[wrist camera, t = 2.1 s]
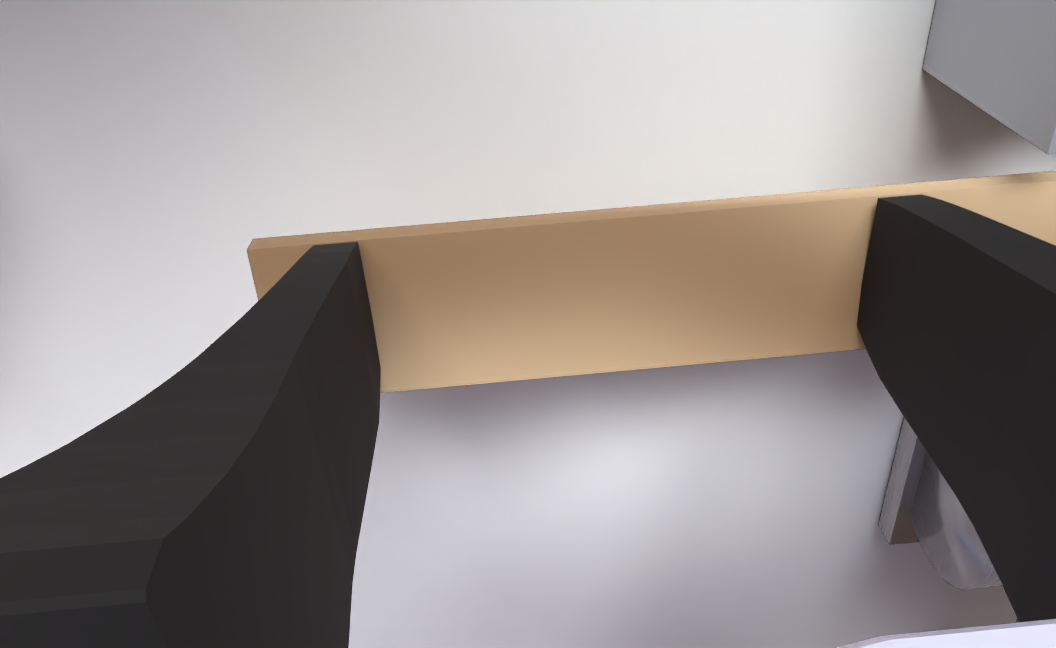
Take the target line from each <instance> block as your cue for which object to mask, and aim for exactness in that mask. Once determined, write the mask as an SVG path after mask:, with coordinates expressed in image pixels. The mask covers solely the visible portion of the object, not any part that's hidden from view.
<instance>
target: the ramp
mask: <svg viewBox="0 0 1056 648" xmlns="http://www.w3.org/2000/svg"><path fill="white" fill-rule="evenodd" d="M920 194H922V195H926V196H930V197H934V198H937V199H940V200H943V201H946V202H949V203H952V204H955V205H957V206H960V207H963V208H965V209H968V210H970V211H973V212H975V213H978V214H980V215H983V216H985V217H988V218H990V219H993V220H995V221H997V222H1000V223H1002V224H1005V225H1007V226H1010V227H1012V228H1014V229H1017V230H1019V231H1022V232H1024V233H1026V234H1029V235H1031V236H1034V237H1036V238H1039V239H1041V240H1043V241H1046V242H1048V243H1051V244H1053V245H1056V171H1049V172H1037V173H1025V174H1013V175H1001V176H990V177H978V178H966V179H954V180H943V181H931V182H919V183H907V184H895V185H884V186H872V187H860V188H848V189H836V190H825V191H813V192H801V193H789V194H777V195H766V196H754V197H742V198H730V199H718V200H707V201H695V202H683V203H671V204H659V205H648V206H636V207H624V208H612V209H601V210H589V211H577V212H565V213H553V214H542V215H530V216H518V217H506V218H494V219H483V220H471V221H459V222H447V223H435V224H424V225H412V226H400V227H388V228H376V229H365V230H353V231H341V232H329V233H317V234H306V235H294V236H282V237H270V238H258V239H253V240H252V242H251V243H250V245H249V247H248V248H247V253H248V258H249V262H250V266H251V271H252V275H253V280H254V284H255V288H256V293H257V297H258V301H259V300H260V299H261V298H262V297H263V296H264V295H265V294H266V293H267V292H268V291H269V290H270V289H271V288H272V287H273V286H274V285H275V284H276V283H277V282H278V281H279V280H280V279H281V278H282V276H283V275H284V274H285V273H286V272H287V271H288V270H289V269H290V268H291V267H292V266H293V265H294V264H295V263H296V262H297V261H298V260H299V259H300V258H301V257H302V256H303V255H304V254H305V253H306V252H307V251H308V250H309V249H310V248H311V247H312V246H313V245H324V244H336V243H347V242H358V244H359V250H360V255H361V260H362V265H363V271H364V276H365V281H366V286H367V292H368V297H369V302H370V307H371V313H372V318H373V324H374V330H375V336H376V343H377V349H378V355H379V361H380V367H381V378H380V393H384V392H395V391H407V390H418V389H429V388H440V387H451V386H462V385H473V384H484V383H495V382H506V381H517V380H528V379H539V378H550V377H561V376H572V375H583V374H594V373H605V372H616V371H627V370H638V369H649V368H661V367H672V366H683V365H694V364H705V363H716V362H727V361H738V360H749V359H760V358H771V357H782V356H793V355H804V354H815V353H826V352H837V351H848V350H859V349H866V347H865V345H864V342H863V340H862V337H861V335H860V332H859V330H858V328H857V318H858V310H859V301H860V293H861V285H862V279H863V273H864V268H865V263H866V258H867V253H868V247H869V242H870V237H871V232H872V227H873V221H874V216H875V211H876V206H877V201H878V198H884V197H896V196H908V195H920ZM1016 623H1019V620H1018V618H1017V621H1016Z"/></svg>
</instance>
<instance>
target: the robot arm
mask: <svg viewBox="0 0 1056 648" xmlns="http://www.w3.org/2000/svg"><path fill="white" fill-rule="evenodd" d="M857 328H858V330H859V332H860V335H861V337H862V340H863V342H864V345H865V347H866V349H867V352H868V354H869V356H870V358H871V360H872V363H873V365H874V367H875V369H876V371H877V373H878V376H879V377H880V379H881V381H882V382H883V384H884V386H885V387H886V389H887V390H888V392H889V394H890V395H891V397H892V398H893V400H894V401H895V403H896V405H897V406H898V408H899V409H900V411H901V412H902V414H903V416H904V417H905V419H906V420H907V422H908V423H909V425H910V426H911V428H912V429H913V431H914V433H915V434H916V436H917V437H918V439H919V440H920V442H921V443H922V445H923V446H924V448H925V449H926V451H927V452H928V454H929V456H930V457H931V459H932V460H933V462H934V463H935V465H936V466H937V468H938V469H939V471H940V472H941V474H942V475H943V477H944V479H945V480H946V482H947V483H948V485H949V486H950V488H951V489H952V491H953V492H954V494H955V495H956V497H957V499H958V500H959V502H960V504H961V506H962V507H963V509H964V511H965V512H966V514H967V516H968V517H969V519H970V521H971V523H972V524H973V526H974V528H975V530H976V532H977V534H978V536H979V538H980V540H981V542H982V544H983V546H984V548H985V551H986V553H987V555H988V557H989V559H990V561H991V563H992V565H993V567H994V569H995V571H996V573H997V575H998V577H999V579H1000V581H1001V583H1002V585H1003V587H1004V589H1005V591H1006V594H1007V596H1008V598H1009V600H1010V602H1011V605H1012V607H1013V609H1014V611H1015V613H1016V616H1017V618H1018V620H1019V623H1009V624H998V625H988V626H978V627H968V628H958V629H948V630H937V631H927V632H917V633H907V634H897V635H887V636H879V637H875V638H871V639H867V640H863V641H859V642H855V643H851V644H847V645H843V646H839V647H835V648H1056V245H1053V244H1051V243H1048V242H1046V241H1043V240H1041V239H1039V238H1036V237H1034V236H1031V235H1029V234H1026V233H1024V232H1022V231H1019V230H1017V229H1014V228H1012V227H1010V226H1007V225H1005V224H1002V223H1000V222H997V221H995V220H993V219H990V218H988V217H985V216H983V215H980V214H978V213H975V212H973V211H970V210H968V209H965V208H963V207H960V206H957V205H955V204H952V203H949V202H946V201H943V200H940V199H937V198H934V197H930V196H926V195H922V194H920V195H908V196H896V197H884V198H878V201H877V206H876V211H875V216H874V221H873V227H872V232H871V237H870V242H869V247H868V253H867V258H866V263H865V268H864V273H863V279H862V285H861V293H860V301H859V310H858V318H857ZM380 378H381V367H380V361H379V355H378V349H377V343H376V336H375V330H374V324H373V318H372V313H371V307H370V302H369V297H368V292H367V286H366V281H365V276H364V271H363V265H362V260H361V255H360V250H359V244H358V242H347V243H336V244H324V245H313V246H312V247H311V248H310V249H309V250H308V251H307V252H306V253H305V254H304V255H303V256H302V257H301V258H300V259H299V260H298V261H297V262H296V263H295V264H294V265H293V266H292V267H291V268H290V269H289V270H288V271H287V272H286V273H285V274H284V275H283V276H282V278H281V279H280V280H279V281H278V282H277V283H276V284H275V285H274V286H273V287H272V288H271V289H270V290H269V291H268V292H267V293H266V294H265V295H264V296H263V297H262V298H261V299H260V300H259V301H258V302H257V303H256V304H255V305H254V306H253V307H252V308H251V309H250V310H249V311H248V312H247V313H246V314H245V315H244V316H243V317H242V318H241V319H239V320H238V321H237V322H236V323H235V324H234V325H233V326H232V327H230V328H229V329H228V330H227V331H226V332H225V333H224V334H223V335H221V336H220V337H219V338H218V339H217V340H216V341H215V342H214V343H213V344H211V345H210V346H209V347H208V348H207V349H206V350H205V351H204V352H202V353H201V354H200V355H199V356H198V357H197V358H195V359H194V360H193V361H192V362H190V363H189V364H188V365H187V366H185V367H184V368H183V369H182V370H180V371H179V372H178V373H176V374H175V375H174V376H172V377H171V378H170V379H168V380H167V381H166V382H164V383H163V384H161V385H160V386H159V387H157V388H156V389H154V390H153V391H152V392H150V393H149V394H147V395H146V396H145V397H143V398H142V399H140V400H139V401H137V402H136V403H134V404H133V405H131V406H130V407H128V408H127V409H125V410H123V411H122V412H120V413H118V414H117V415H115V416H113V417H112V418H110V419H108V420H107V421H105V422H103V423H102V424H100V425H98V426H97V427H95V428H93V429H92V430H90V431H88V432H87V433H85V434H83V435H82V436H80V437H78V438H77V439H75V440H74V441H72V442H70V443H68V444H67V445H65V446H63V447H61V448H59V449H58V450H56V451H54V452H52V453H50V454H48V455H46V456H44V457H42V458H40V459H38V460H36V461H35V462H33V463H31V464H29V465H27V466H25V467H23V468H21V469H19V470H17V471H15V472H12V473H10V474H8V475H6V476H4V477H2V478H0V648H348V644H349V628H350V612H351V596H352V582H353V574H354V566H355V558H356V551H357V545H358V539H359V534H360V528H361V522H362V517H363V511H364V505H365V500H366V494H367V489H368V483H369V477H370V472H371V466H372V460H373V454H374V448H375V442H376V436H377V430H378V424H379V408H380Z"/></svg>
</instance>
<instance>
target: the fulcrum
mask: <svg viewBox="0 0 1056 648" xmlns="http://www.w3.org/2000/svg"><path fill="white" fill-rule="evenodd" d="M878 525H879V527H880V528H881V530H882V532H883V534H884V536H885V538H886V539H887V541H888V543H889V545H890V544H900V543H910V542H920V544H921V546H922V548H923V551H924V553H925V554H926V556H927V558H928V560H929V562H930V563H931V565H932V566H933V568H934V569H935V570H936V572H937V573H938V574H939V575H940V576H941V577H942V578H943V579H944V580H945V581H946V582H947V583H949V584H950V585H952V586H954V587H956V588H959V589H971V588H981V587H991V586H1001V585H1002V583H1001V581H1000V579H999V577H998V575H997V573H996V571H995V569H994V567H993V565H992V563H991V561H990V559H989V557H988V555H987V553H986V551H985V548H984V546H983V544H982V542H981V540H980V538H979V536H978V534H977V532H976V530H975V528H974V526H973V524H972V523H971V521H970V519H969V517H968V516H967V514H966V512H965V511H964V509H963V507H962V506H961V504H960V502H959V500H958V499H957V497H956V495H955V494H954V492H953V491H952V489H951V488H950V486H949V485H948V483H947V482H946V480H945V479H944V477H943V475H942V474H941V472H940V471H939V469H938V468H937V466H936V465H935V463H934V462H933V460H932V459H931V457H930V456H929V454H928V452H927V451H926V449H925V448H924V446H923V445H922V443H921V442H920V440H919V439H918V437H917V436H916V434H915V433H914V431H913V429H912V428H911V426H910V425H909V423H908V422H907V420H906V419H905V417H904V420H903V425H902V429H901V433H900V437H899V441H898V445H897V449H896V454H895V458H894V462H893V466H892V470H891V474H890V478H889V483H888V487H887V491H886V495H885V499H884V503H883V507H882V511H881V516H880V520H879V524H878Z"/></svg>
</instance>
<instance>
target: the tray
mask: <svg viewBox="0 0 1056 648" xmlns="http://www.w3.org/2000/svg"><path fill="white" fill-rule="evenodd" d="M923 70H924V71H926V72H927V73H929V74H930V75H932V76H933V77H935V78H936V79H938V80H939V81H941V82H942V83H944V84H945V85H946V86H948V87H949V88H951V89H952V90H954V91H955V92H957V93H958V94H960V95H961V96H963V97H964V98H966V99H967V100H969V101H970V102H971V103H973V104H974V105H976V106H977V107H979V108H980V109H982V110H983V111H985V112H986V113H988V114H989V115H991V116H992V117H994V118H995V119H996V120H998V121H999V122H1001V123H1002V124H1004V125H1005V126H1007V127H1008V128H1010V129H1011V130H1013V131H1014V132H1016V133H1017V134H1019V135H1020V136H1021V137H1023V138H1024V139H1026V140H1027V141H1029V142H1030V143H1032V144H1033V145H1035V146H1036V147H1038V148H1039V149H1041V150H1042V151H1044V152H1045V153H1046V154H1056V0H936V4H935V9H934V15H933V20H932V25H931V30H930V35H929V40H928V45H927V50H926V55H925V60H924V65H923Z"/></svg>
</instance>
